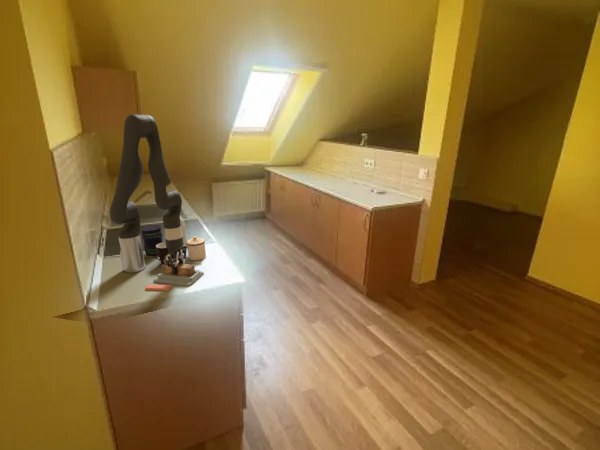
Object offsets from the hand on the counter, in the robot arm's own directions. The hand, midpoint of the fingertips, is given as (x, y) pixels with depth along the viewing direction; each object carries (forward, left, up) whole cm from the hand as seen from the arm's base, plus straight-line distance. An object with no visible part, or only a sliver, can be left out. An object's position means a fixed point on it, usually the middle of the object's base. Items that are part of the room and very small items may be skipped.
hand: (178, 271), depth 149 cm
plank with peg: (0, 0, -2) cm, 2 cm away
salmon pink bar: (-3, -11, -4) cm, 12 cm away
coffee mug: (-16, +12, -3) cm, 20 cm away
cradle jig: (0, 0, -3) cm, 3 cm away
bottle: (-21, +34, -3) cm, 40 cm away
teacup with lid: (-6, +24, -3) cm, 25 cm away
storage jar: (-30, +23, -3) cm, 38 cm away
